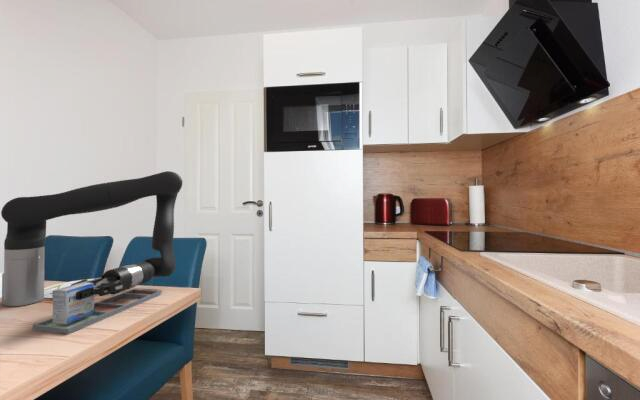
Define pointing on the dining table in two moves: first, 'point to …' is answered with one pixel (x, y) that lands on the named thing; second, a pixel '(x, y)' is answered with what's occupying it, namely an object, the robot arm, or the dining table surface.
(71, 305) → the medicine box
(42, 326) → the tray
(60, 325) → the pad
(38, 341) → the dining table surface
